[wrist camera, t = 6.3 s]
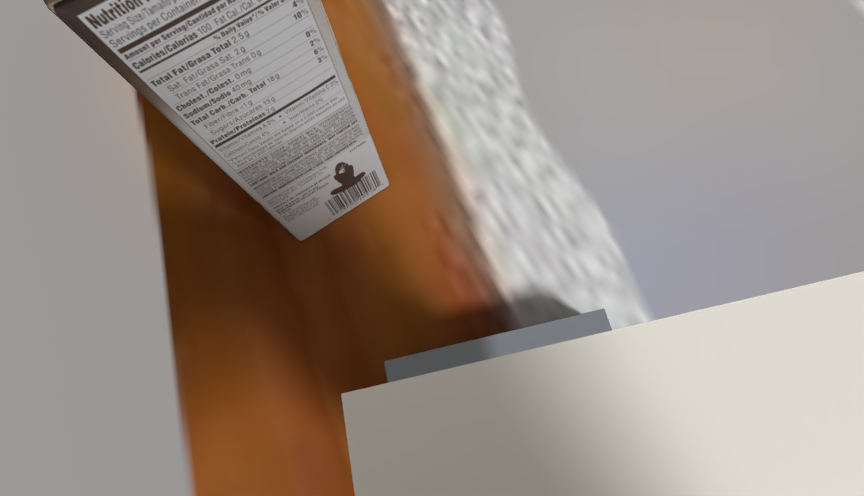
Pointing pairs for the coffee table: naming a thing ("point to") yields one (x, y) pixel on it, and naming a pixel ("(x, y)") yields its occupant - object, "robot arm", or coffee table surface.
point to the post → (637, 410)
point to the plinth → (497, 345)
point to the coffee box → (247, 95)
